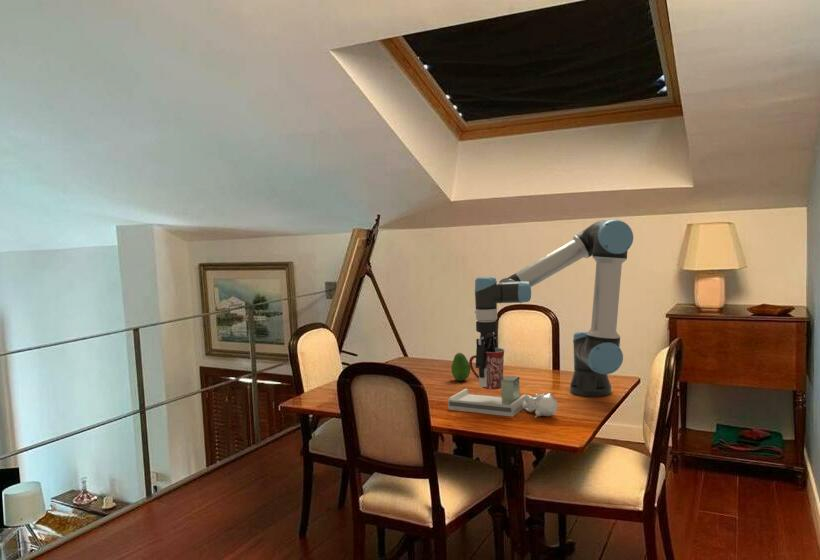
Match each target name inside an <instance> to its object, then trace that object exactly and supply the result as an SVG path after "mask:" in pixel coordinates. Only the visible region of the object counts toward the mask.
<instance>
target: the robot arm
mask: <svg viewBox="0 0 820 560" xmlns="http://www.w3.org/2000/svg"><path fill="white" fill-rule="evenodd" d="M572 237H573V238H572V240H570V241H568V242H567V243H565V244H564V245H562V246H560V247H558V248H556V249H555V250H552V251H551V252H549V253H548V254H546V255H544V256H543V257H541V258H539V259H538V260H535V261H533V262H532V263H530V264H529V265H527V266H525V267H523V268H522V269H520V270H518V271H516V272H514V273H513V274H511V275H510V276H508V277H505V278H502V279H500V280H499V281H497V278H496V277H495V276H478V277H476V278H475V281H474V298H475V310H474V314H475V320H477V321H476V322H475V329H476V330H475V331H476V332H477V333H480V335H479V338H476V349H475V350H476V351H475V352H476V353H475V355H476V358H475V369H478V376H479V379H478V386H479V387H482V388H483V387H487V368H485V366H486V360H487V355H486V352H495V348H499V343H498V333H496V332H497V331H498V321H497V320H498V307H497V305H498V304H518V303H519V304H522V303H529V302H530V301H531V299H532V287H534V286H535V285H537V284H540V283H541V282H543V281H544V280H546V279H548V278H550V277H551V276H553V275H555V274H556V273H558V272H561V271H563V270H564V269H566V268H568V267H569V266H571V265H573V264H574V263H576V262H578V261H579V260H581V259H583V258H584V259H588V258H590V257H592V258H593V260H594V261H595V263H596V264H595V274H594V277H595V278H594V287H593V290H594V291H593V301H592V311H591V312H592V313H591V314H592V315H591V322H590V323H591V326H590V330H588V331H577V332H575V333H574V334H573V340H572V343H573V370H574V371H573V374H572V378H571V382H570V384H569V392H570V393H571V394H573V395H576V396H582V397H603V396H608V395H610V394H611V393H612V385H611V381H610V379H609V376H608V375H611V374H613V373H615V372H616V371H618V370H619V369H620V368H621V366H622V365H623V361H624V353H623V351H622V349H621V348H620V347H621V346H620V345H621V335H619V333H618V332H617V329H618V328H617V326H618V317H619V316H618V315H619V314H618V313H619V304H620V303H619V302H620V301H619V300H620V290H621V281H622V280H621V278H622V268H623V263H625V262H626V261H627V259H628V253H629V251H628V250H629V249H630V248H631V247H632V245H633V242H634V232H633V230H632V228H631V226H630V225H628V223H626V222H625V221H623V220H619V219H616V218H615V219H603V220H598V221H596V222H594V223H592V224H591V225H589V226H588V227H586V228H585V229H583V230H581V231H580V232H579V233H577V234H574V236H572Z"/></svg>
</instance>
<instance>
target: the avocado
mask: <svg viewBox="0 0 820 560" xmlns="http://www.w3.org/2000/svg"><path fill="white" fill-rule="evenodd" d="M468 360H469V359H467V357H466V356H465V355H464V354H463V353H461V352H457V353H456V354H455V355H454V357H453V361H452V364H451V373H452V377H453V378H454V379H455V380H456V381H459V382H462V381H465V380H467V379H468V377H469V376H470V374H471V368H470V365H469V361H468Z"/></svg>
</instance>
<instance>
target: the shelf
mask: <svg viewBox="0 0 820 560" xmlns="http://www.w3.org/2000/svg"><path fill="white" fill-rule="evenodd" d="M527 395H528V394H527V393H524V394H522V395H520V398H518V399H517V400H515V401H514V402H513V403H511V404H510V405H503V404H502V396H491V395H480V394H472V393H471V394H470V393H469V389H468V388H464V389H462V390H461V391H458V392H457V393H455V394H454V395H451V396H450V397H449V398H448V399H447V400H448V401H447V405H448V410H450V411H451V410H452V411H459V412H466V413H467V412H468V413H469V412H470V413H477V414H485V415H495V416H503V417H512V418H513V417H515V416H516V415H517V414H519V412H520V411H522V410H523V409H524V408H523V407H522V402H527V401H526V396H527ZM527 403H528V402H527Z"/></svg>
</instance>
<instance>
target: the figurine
mask: <svg viewBox="0 0 820 560" xmlns="http://www.w3.org/2000/svg"><path fill="white" fill-rule="evenodd" d="M552 394H553V393H552V391H550V392H548V393H546V392H543V393H540V394H537V393H534V396H532V395H530V394H527V396H526V401H527V402H522V407H523V409H524V410H526V411H527V412H528V413H532V412H534V414H535V416H534V418H535V419H537V417H541V416H543V417H550V416H553V415H554V414H556V412H557V410H558V408H559V407H558V401H557V399H556V398H555V397H554V396H553V395H552Z"/></svg>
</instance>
